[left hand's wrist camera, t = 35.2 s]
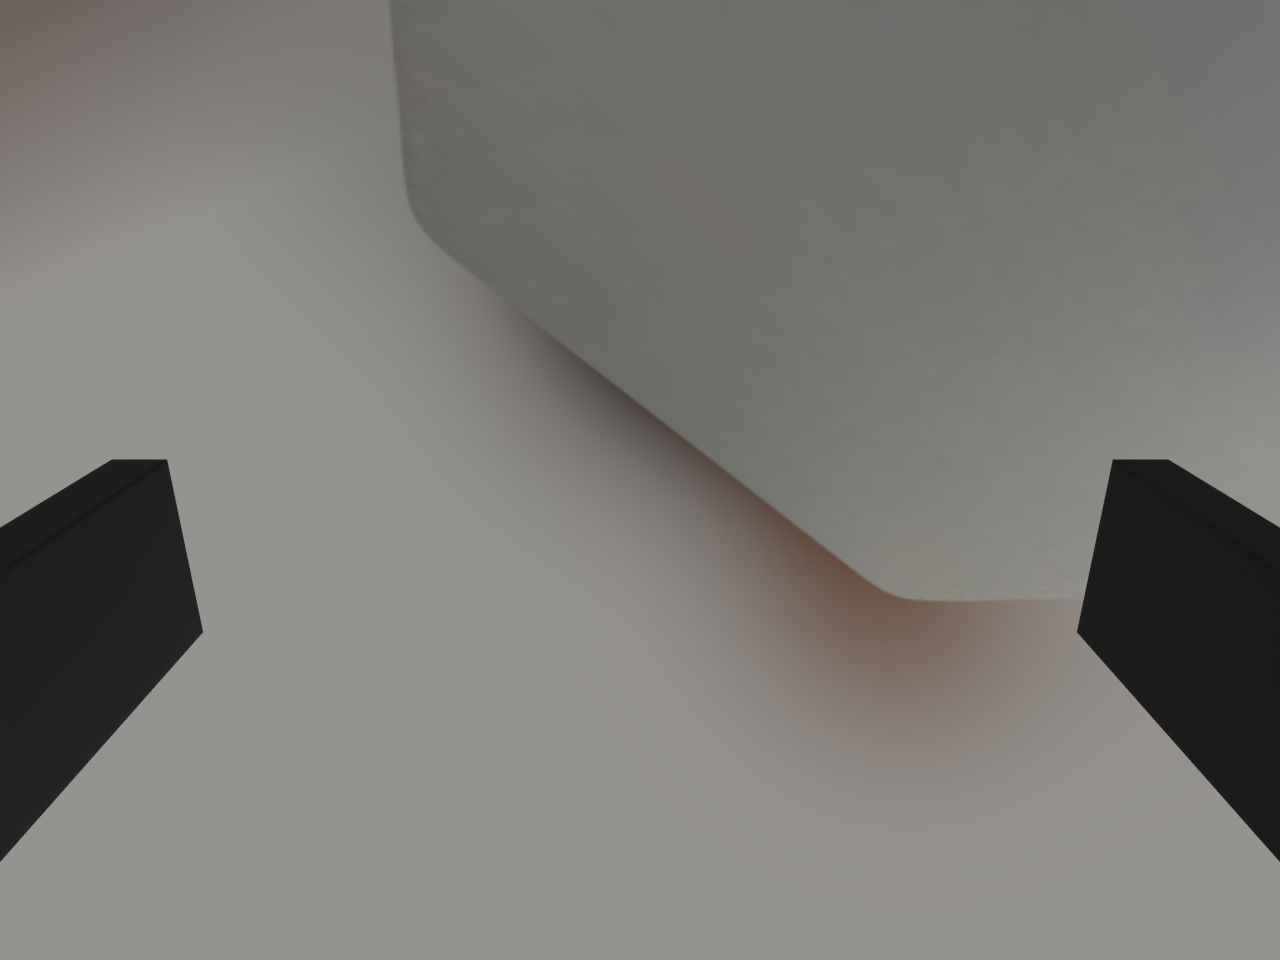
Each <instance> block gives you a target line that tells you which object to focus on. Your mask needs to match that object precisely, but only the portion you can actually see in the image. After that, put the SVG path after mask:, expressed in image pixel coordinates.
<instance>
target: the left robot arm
mask: <svg viewBox="0 0 1280 960" xmlns="http://www.w3.org/2000/svg"><path fill="white" fill-rule="evenodd" d="M202 633H203V630H202V625H201V620H200V615H199V611H198V606H197V601H196V596H195V591H194V587H193V582H192V577H191V572H190V567H189V563H188V558H187V553H186V548H185V544H184V539H183V534H182V529H181V524H180V519H179V515H178V510H177V505H176V500H175V496H174V491H173V486H172V481H171V476H170V472H169V467H168V462H167V460H110V461H109V462H107V463H105V464H104V465H102V466H101V467H99V468H97V469H96V470H94V471H92V472H91V473H89V474H87V475H86V476H84V477H83V478H81V479H79V480H77V481H76V482H74V483H73V484H71V485H69V486H68V487H66V488H64V489H63V490H61V491H59V492H58V493H56V494H55V495H53V496H51V497H50V498H48V499H46V500H45V501H43V502H41V503H40V504H38V505H37V506H35V507H33V508H32V509H30V510H28V511H27V512H25V513H23V514H22V515H20V516H19V517H17V518H15V519H14V520H12V521H10V522H9V523H7V524H5V525H4V526H2V527H0V861H1V860H2V859H3V858H4V857H5V856H6V855H7V853H8V852H9V851H10V850H11V849H12V848H13V847H14V846H15V844H16V843H17V842H18V841H19V840H20V839H21V838H22V837H23V835H24V834H25V833H26V832H27V831H28V830H29V829H30V827H31V826H32V825H33V824H34V823H35V822H36V821H37V819H38V818H39V817H40V816H41V815H42V814H43V813H44V812H45V810H46V809H47V808H48V807H49V806H50V805H51V804H52V803H53V801H54V800H55V799H56V798H57V797H58V796H59V795H60V793H61V792H62V791H63V790H64V789H65V788H66V787H67V786H68V784H69V783H70V782H71V781H72V780H73V779H74V778H75V776H76V775H77V774H78V773H79V772H80V771H81V770H82V769H83V767H84V766H85V765H86V764H87V763H88V762H89V761H90V759H91V758H92V757H93V756H94V755H95V754H96V753H97V752H98V750H99V749H100V748H101V747H102V746H103V745H104V744H105V743H106V741H107V740H108V739H109V738H110V737H111V736H112V735H113V733H114V732H115V731H116V730H117V729H118V728H119V727H120V726H121V724H122V723H123V722H124V721H125V720H126V719H127V718H128V716H129V715H130V714H131V713H132V712H133V711H134V710H135V709H136V707H137V706H138V705H139V704H140V703H141V702H142V701H143V699H144V698H145V697H146V696H147V695H148V694H149V693H150V692H151V690H152V689H153V688H154V687H155V686H156V685H157V684H158V682H159V681H160V680H161V679H162V678H163V677H164V676H165V675H166V673H167V672H168V671H169V670H170V669H171V668H172V667H173V666H174V664H175V663H176V662H177V661H178V660H179V659H180V658H181V656H182V655H183V654H184V653H185V652H186V651H187V650H188V649H189V647H190V646H191V645H192V644H193V643H194V642H195V641H196V639H197V638H198V637H199V636H200V635H201V634H202ZM1077 633H1078V634H1079V635H1080V636H1081V637H1082V638H1083V639H1084V641H1085V642H1086V643H1087V644H1088V645H1089V646H1090V647H1091V649H1092V650H1093V651H1094V652H1095V653H1096V654H1097V655H1098V656H1099V658H1100V659H1101V660H1102V661H1103V662H1104V663H1105V664H1106V666H1107V667H1108V668H1109V669H1110V670H1111V671H1112V672H1113V673H1114V675H1115V676H1116V677H1117V678H1118V679H1119V680H1120V681H1121V682H1122V684H1123V685H1124V686H1125V687H1126V688H1127V689H1128V690H1129V692H1130V693H1131V694H1132V695H1133V696H1134V697H1135V698H1136V699H1137V701H1138V702H1139V703H1140V704H1141V705H1142V706H1143V707H1144V709H1145V710H1146V711H1147V712H1148V713H1149V714H1150V715H1151V716H1152V718H1153V719H1154V720H1155V721H1156V722H1157V723H1158V724H1159V726H1160V727H1161V728H1162V729H1163V730H1164V731H1165V732H1166V733H1167V735H1168V736H1169V737H1170V738H1171V739H1172V740H1173V741H1174V742H1175V744H1176V745H1177V746H1178V747H1179V748H1180V749H1181V750H1182V752H1183V753H1184V754H1185V755H1186V756H1187V757H1188V758H1189V759H1190V761H1191V762H1192V763H1193V764H1194V765H1195V766H1196V767H1197V769H1198V770H1199V771H1200V772H1201V773H1202V774H1203V775H1204V776H1205V778H1206V779H1207V780H1208V781H1209V782H1210V783H1211V784H1212V786H1213V787H1214V788H1215V789H1216V790H1217V791H1218V792H1219V793H1220V795H1221V796H1222V797H1223V798H1224V799H1225V800H1226V801H1227V803H1228V804H1229V805H1230V806H1231V807H1232V808H1233V809H1234V810H1235V812H1236V813H1237V814H1238V815H1239V816H1240V817H1241V818H1242V820H1243V821H1244V822H1245V823H1246V824H1247V825H1248V826H1249V827H1250V829H1251V830H1252V831H1253V832H1254V833H1255V834H1256V835H1257V837H1258V838H1259V839H1260V840H1261V841H1262V842H1263V843H1264V844H1265V846H1266V847H1267V848H1268V849H1269V850H1270V851H1271V852H1272V853H1273V855H1274V856H1275V857H1276V858H1277V859H1278V860H1279V861H1280V527H1278V526H1276V525H1275V524H1273V523H1271V522H1270V521H1268V520H1266V519H1265V518H1263V517H1262V516H1260V515H1258V514H1257V513H1255V512H1253V511H1252V510H1250V509H1248V508H1247V507H1245V506H1243V505H1242V504H1240V503H1239V502H1237V501H1235V500H1234V499H1232V498H1230V497H1229V496H1227V495H1225V494H1224V493H1222V492H1221V491H1219V490H1217V489H1216V488H1214V487H1212V486H1211V485H1209V484H1207V483H1206V482H1204V481H1203V480H1201V479H1199V478H1198V477H1196V476H1194V475H1193V474H1191V473H1189V472H1188V471H1186V470H1184V469H1183V468H1181V467H1180V466H1178V465H1176V464H1175V463H1173V462H1171V461H1170V460H1113V462H1112V467H1111V471H1110V476H1109V481H1108V486H1107V491H1106V495H1105V500H1104V505H1103V510H1102V515H1101V519H1100V524H1099V529H1098V534H1097V539H1096V543H1095V548H1094V553H1093V558H1092V563H1091V567H1090V572H1089V577H1088V582H1087V587H1086V591H1085V596H1084V601H1083V606H1082V611H1081V615H1080V620H1079V625H1078V630H1077Z"/></svg>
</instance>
